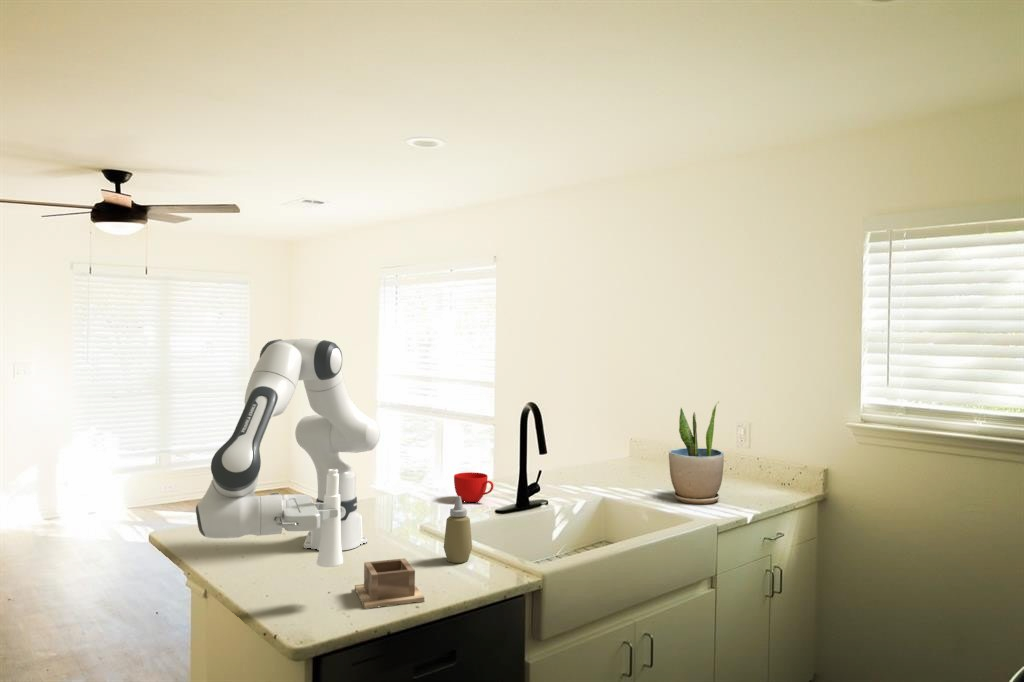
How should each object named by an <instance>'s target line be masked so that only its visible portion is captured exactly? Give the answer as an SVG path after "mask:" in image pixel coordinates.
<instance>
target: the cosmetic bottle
mask: <svg viewBox="0 0 1024 682" xmlns="http://www.w3.org/2000/svg"><path fill="white" fill-rule="evenodd" d="M328 472H329V473H328V474H327V486H326V494H325V495H324V505H323V510H328V509H330V508H336V509H337V511H338V516H337V517H333V518H328V519H325V520H322V529H321V540H320V548H319V550H318V555H317V559H316V565H317V566H319V567H323V568H335V567H339V566H341V565H343V563H344V557H343V550H342V547H341V509H340V494H338V490H339V474H338V473H337V472H338V470H337V469H329V470H328Z"/></svg>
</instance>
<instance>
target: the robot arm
mask: <svg viewBox="0 0 1024 682" xmlns="http://www.w3.org/2000/svg"><path fill="white" fill-rule="evenodd" d="M342 366H343V353H342V349H341V348H340V347H339V346H338V344H337V343H335V342H333V341H329V340H325V339H324V340H318V339H309V338H298V339H297V338H296V339H278V338H277V339H273V340H270V341H268V342H266V343H265V344H264V346H263V347H262V348H261V350H260V353H259V359H258V361H257V362H256V364H255V366H254V368H253V371H252V372H251V375H250V377H249V381H248V383H247V387H246V389H245V390H246V391H245V394H244V408H243V410H242V413H241V414H240V417H239V420H238V421H237V424H236V426H235V429H234V430H233V433H232V435H231V436H230V437H229V438H228V440H226V441H225V443H224V444H223V445H222V446H221V447H219V449H217V450H216V452H215V453H214V455H213V457H212V459H211V462H210V471H211V474H212V480H211V482H210V484H209V486H208V488H207V490H206V492H205V493H204V495H203V496H202V498H201V499H200V501H198V502H197V503H196V506H195V516H196V522H197V527H198V530H199V533H200V534H201V535H202V536H203V537H205V538H208V539H235V538H238V539H239V538H242V537H244V536H257V537H260V536H262V537H263V536H272V535H273V536H275V535H281V534H283V529H284V531H286V532H307V535H306V537H305V540H304V543H303V547H304V548H303V547H302V548H303V549H307V548H311V549H310V550H315V549H317V551H319V548H320V540H321V529H322V520H325V519H328V518H333V517H337V516H338V511H337V509H336V508H330V509H328V510H323V505H324V495H325V494H326V486H327V474H328V473H329V472H328V470H329V469H337V470H338V472H337V473H338V474H339V490H338V494H340V509H341V547H342V551H348V550H349V551H350V550H352V549H353V550H354V549H355V548H358V547H359V546H361V545H364V544H363V543H365V544H367V543H368V542H369V540H368V538H367V537H365V536H364V535H363V519H362V518H363V517H362V515H361V514H360V513H359V512H358V511H357V508H358V501H357V500H358V497H357V496H356V493H357V492H356V491H357V488H356V487H357V485H356V484H357V481H356V480H357V479H356V478H357V474H356V472H355V470H354V468H353V467H352V466H350V465H349V464H347V463H345V462H344V461H343V459H342V458H341V456H340V453H351V454H352V453H354V454H355V453H356V454H357V453H365V452H369V451H373V449H375V448H376V446H377V445H378V443H379V442H380V438H381V429H380V427H379V425H378V422H377V421H376V420H375V419H373V418H372V417H370V416H368V415H366V414H365V413H364V412H362V411H361V409H359V408H358V407H357V406H356V404H355V403H354V402H353V401H352V399H351V397H350V395H349V392H348V389H347V386H346V385H347V384H346V382H345V378H344V374H343V370H342ZM298 381H303V385H304V389H305V392H306V396H307V399H308V403H309V406H310V408H311V409H312V410H313V412H314V413H316V414H314V415H308V416H304V417H302V418H300V420H299V421H298V422H297V424H296V427H295V432H294V435H295V440H296V443H297V444H298V446H300V448H301V449H302V450H303V451H305V452H306V453H307V454H308V456H309V458H310V459H311V460H312V463H313V464H314V467H315V471H316V477H317V498H316V500H315V502H314V500H313V497H312V495H309V494H301V493H299V494H292V493H290V494H281V493H280V492H271V493H269V494H267V495H266V494H265V495H256V489H257V486H258V482H259V473H260V470H261V464H262V463H261V453H260V447H261V443H262V441H263V438H264V435H265V433H266V431H267V429H268V426H269V423H270V421H271V419H272V418H274V417H277V416H280V415H282V414H284V412H285V410H286V409H287V408H288V406H289V404H290V403H291V400H292V399H293V397H294V394H295V391H296V388H297V385H298ZM366 542H367V543H366ZM360 544H361V545H360Z"/></svg>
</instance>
